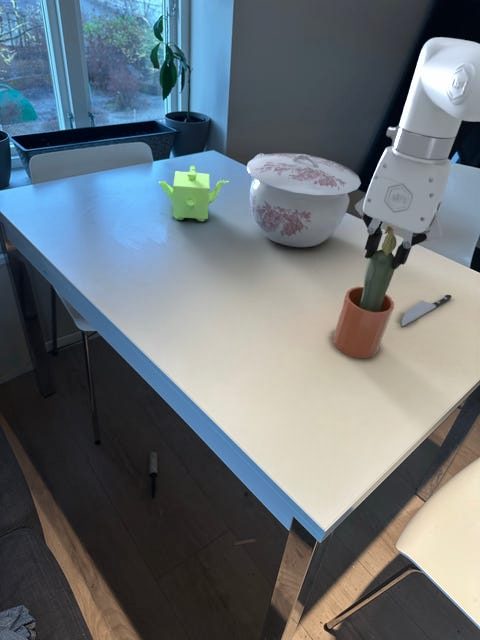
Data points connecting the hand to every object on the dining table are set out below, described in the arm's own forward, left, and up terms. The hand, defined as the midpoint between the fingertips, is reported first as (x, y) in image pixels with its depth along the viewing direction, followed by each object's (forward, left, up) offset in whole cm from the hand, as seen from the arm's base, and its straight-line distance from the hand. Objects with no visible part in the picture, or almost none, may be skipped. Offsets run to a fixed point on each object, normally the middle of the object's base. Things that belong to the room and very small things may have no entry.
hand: (383, 259), depth 72 cm
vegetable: (0, 0, -15) cm, 15 cm away
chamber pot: (+33, -29, -18) cm, 47 cm away
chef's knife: (-5, -21, -18) cm, 28 cm away
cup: (0, 0, -18) cm, 18 cm away
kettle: (+58, -18, -18) cm, 63 cm away
